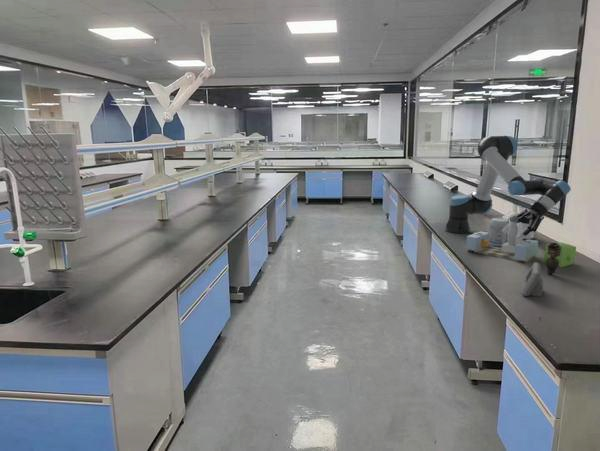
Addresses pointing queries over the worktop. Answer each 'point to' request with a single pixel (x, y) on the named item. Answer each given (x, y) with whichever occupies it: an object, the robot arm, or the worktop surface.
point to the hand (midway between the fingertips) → (510, 235)
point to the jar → (524, 225)
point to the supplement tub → (498, 231)
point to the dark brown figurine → (553, 257)
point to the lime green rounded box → (564, 254)
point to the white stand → (511, 236)
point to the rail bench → (499, 253)
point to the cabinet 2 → (526, 249)
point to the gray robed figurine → (533, 282)
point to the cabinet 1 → (476, 240)
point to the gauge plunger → (484, 242)
